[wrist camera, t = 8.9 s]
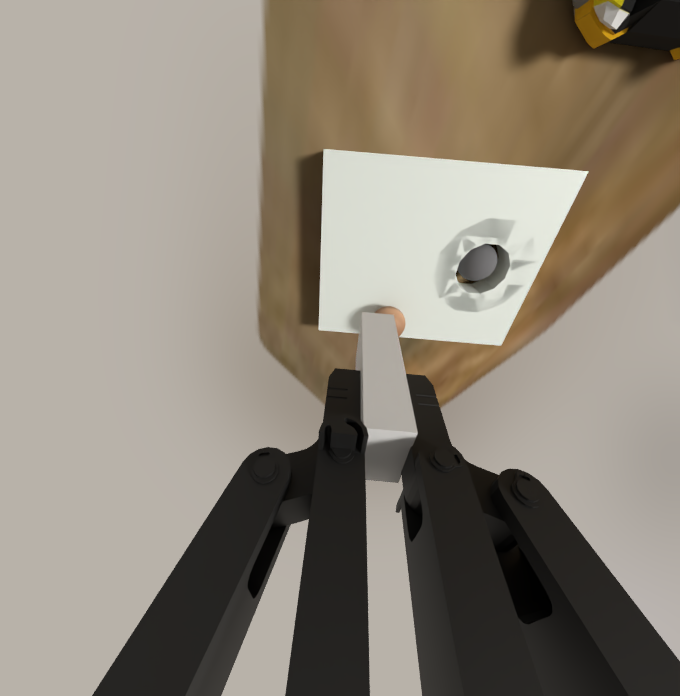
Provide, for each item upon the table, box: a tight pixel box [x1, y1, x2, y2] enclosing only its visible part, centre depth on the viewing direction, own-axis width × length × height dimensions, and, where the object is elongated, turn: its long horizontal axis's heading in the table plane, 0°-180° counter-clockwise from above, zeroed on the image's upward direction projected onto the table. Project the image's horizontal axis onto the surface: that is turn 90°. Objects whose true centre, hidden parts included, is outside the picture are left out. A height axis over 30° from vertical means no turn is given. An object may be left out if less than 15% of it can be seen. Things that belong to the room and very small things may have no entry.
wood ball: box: [375, 306, 405, 337], centre depth 27 cm, size 3×3×3 cm
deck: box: [319, 149, 589, 346], centre depth 26 cm, size 16×20×2 cm
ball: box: [458, 244, 497, 281], centre depth 25 cm, size 3×3×3 cm
